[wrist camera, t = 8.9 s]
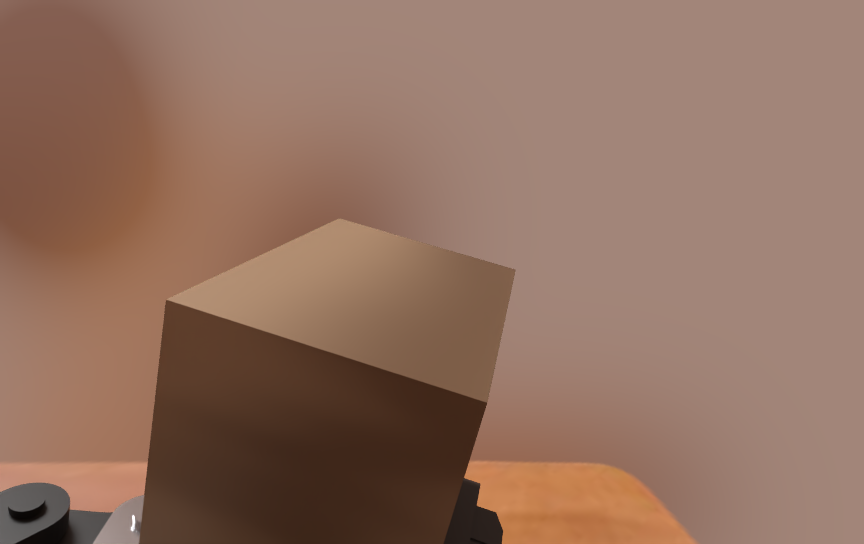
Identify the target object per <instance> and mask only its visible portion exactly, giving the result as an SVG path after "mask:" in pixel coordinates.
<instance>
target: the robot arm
mask: <svg viewBox="0 0 864 544" xmlns="http://www.w3.org/2000/svg"><path fill="white" fill-rule="evenodd" d="M479 489H480V483H477V482H474V481H471V480H468V479H465V478H464V479H463V482H462V486H461V489H460V492H459V495H458V498H457V502H456V505H455V508H454V511H453V514H452V518H451V521H450V524H449V527H448V531H447V534H446V537H445V540H444V543H443V544H502V535H503V530H502V527H501V524H500V522H499V519H498V516H497V514H496V512H493V511H490V510H487V509H484V508H481V507H478V506H476V505H477V500H478V495H479ZM143 502H144V495H142V496H138V497H135V498H132V499H130V500H128V501H126V502H124V503H123V504H121V505H120V506H119V507H118V508H116V509H115V511H114V512H111V513H105V512H91V511H79V510H70V497H69V495H68V493H67V492H66V491H65V490H64V489H62V488H61V487H59V486H56V485H53V484H48V483H28V484H23V485H19V486H15V487H12V488H9V489H7V490H4V491H2V492H0V544H139V538H140V529H141V520H142V511H143Z"/></svg>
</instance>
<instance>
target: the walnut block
mask: <svg viewBox="0 0 864 544" xmlns="http://www.w3.org/2000/svg"><path fill="white" fill-rule="evenodd" d="M514 275H515V269H511V268H508V267H504V266H501V265H497V264H494V263H490V262H487V261H484V260H480V259H477V258H473V257H470V256H466V255H463V254H460V253H456V252H453V251H449V250H446V249H442V248H439V247H436V246H432V245H429V244H425V243H422V242H418V241H415V240H412V239H408V238H405V237H401V236H398V235H394V234H391V233H388V232H384V231H381V230H377V229H374V228H370V227H367V226H363V225H360V224H356V223H353V222H350V221H346V220H342V219H337V220H335V221H333V222H330V223H329V224H327V225H324V226H322V227H320V228H318V229H316V230H313V231H311V232H309V233H307V234H305V235H303V236H301V237H298V238H296V239H294V240H292V241H290V242H288V243H286V244H284V245H282V246H279V247H277V248H275V249H273V250H271V251H269V252H267V253H264V254H262V255H260V256H258V257H256V258H254V259H252V260H249V261H247V262H245V263H243V264H241V265H239V266H237V267H235V268H232V269H230V270H228V271H226V272H224V273H222V274H220V275H217V276H215V277H213V278H211V279H209V280H207V281H205V282H203V283H200V284H198V285H196V286H194V287H192V288H190V289H188V290H185V291H183V292H181V293H179V294H177V295H175V296H173V297H171V298H168V299H167V300H166V305H165V314H164V324H163V332H162V341H161V350H160V359H159V368H158V377H157V386H156V395H155V405H154V413H153V422H152V431H151V440H150V449H149V458H148V467H147V476H146V485H145V493H144V502H143V511H142V520H141V529H140V538H139V544H443V543H444V540H445V537H446V534H447V531H448V527H449V524H450V521H451V518H452V514H453V511H454V508H455V505H456V502H457V498H458V495H459V492H460V489H461V486H462V482H463V479H464V476H465V473H466V469H467V466H468V463H469V460H470V456H471V453H472V450H473V447H474V444H475V440H476V437H477V434H478V431H479V428H480V424H481V421H482V418H483V415H484V411H485V408H486V405H487V401H488V397H489V392H490V387H491V383H492V378H493V373H494V369H495V364H496V359H497V355H498V349H499V345H500V340H501V335H502V331H503V326H504V322H505V317H506V312H507V308H508V302H509V298H510V294H511V289H512V284H513V279H514Z"/></svg>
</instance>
